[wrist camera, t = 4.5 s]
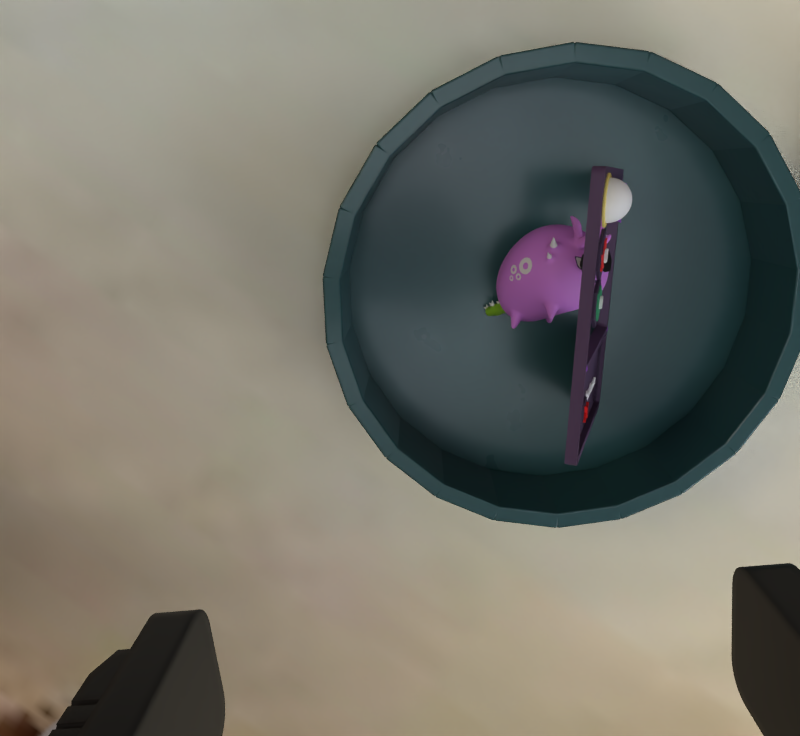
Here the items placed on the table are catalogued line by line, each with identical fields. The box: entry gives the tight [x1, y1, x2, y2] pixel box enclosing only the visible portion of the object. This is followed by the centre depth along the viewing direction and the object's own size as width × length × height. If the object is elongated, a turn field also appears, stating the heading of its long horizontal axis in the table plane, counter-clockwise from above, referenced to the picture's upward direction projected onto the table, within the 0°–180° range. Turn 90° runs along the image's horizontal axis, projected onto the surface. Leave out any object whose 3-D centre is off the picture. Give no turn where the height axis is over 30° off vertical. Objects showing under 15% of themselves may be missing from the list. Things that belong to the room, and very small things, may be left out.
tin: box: [323, 42, 800, 528], centre depth 26 cm, size 16×16×4 cm
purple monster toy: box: [484, 166, 632, 466], centre depth 25 cm, size 7×5×9 cm
